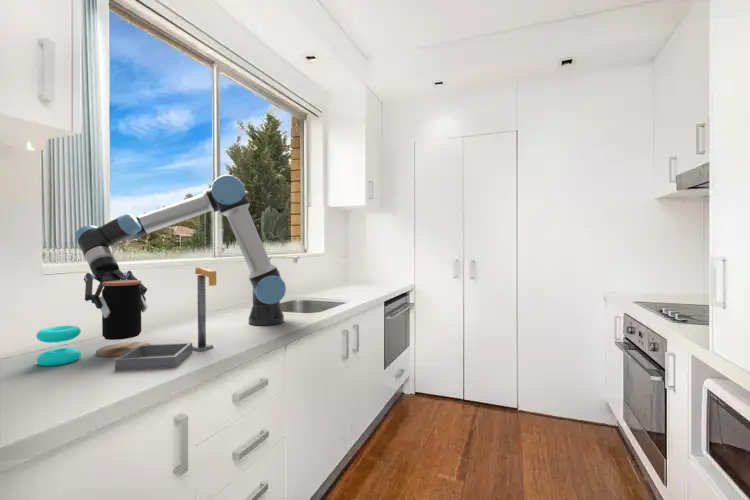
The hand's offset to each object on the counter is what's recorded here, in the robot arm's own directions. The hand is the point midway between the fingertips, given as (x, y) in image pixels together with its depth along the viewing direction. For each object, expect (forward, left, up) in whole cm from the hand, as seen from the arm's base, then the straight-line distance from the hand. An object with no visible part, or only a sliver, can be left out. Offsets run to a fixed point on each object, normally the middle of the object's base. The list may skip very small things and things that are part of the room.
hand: (127, 312), depth 121 cm
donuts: (+15, +8, -13) cm, 21 cm away
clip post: (-23, +1, -13) cm, 26 cm away
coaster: (+2, -2, -13) cm, 13 cm away
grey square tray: (-13, +12, -13) cm, 22 cm away
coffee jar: (+2, -2, -8) cm, 9 cm away
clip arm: (-26, +9, +10) cm, 30 cm away
